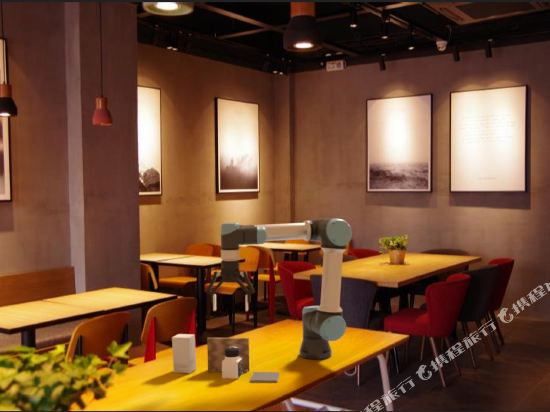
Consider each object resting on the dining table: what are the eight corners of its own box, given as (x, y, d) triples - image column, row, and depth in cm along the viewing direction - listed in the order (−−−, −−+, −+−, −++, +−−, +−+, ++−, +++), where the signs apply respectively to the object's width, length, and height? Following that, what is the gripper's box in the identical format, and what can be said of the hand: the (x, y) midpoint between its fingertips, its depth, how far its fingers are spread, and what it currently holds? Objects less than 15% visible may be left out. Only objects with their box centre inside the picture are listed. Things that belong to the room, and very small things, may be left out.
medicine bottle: (238, 379, 246) (237, 350, 246) (221, 378, 247) (221, 349, 247) (242, 373, 253) (242, 345, 253) (226, 373, 254) (226, 345, 254)
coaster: (279, 374, 252) (279, 372, 252) (277, 382, 241) (277, 380, 241) (253, 373, 253) (253, 371, 253) (250, 382, 242) (250, 380, 242)
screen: (250, 368, 261) (249, 336, 260) (248, 372, 255) (247, 340, 254) (209, 367, 262) (209, 336, 262) (206, 372, 256) (206, 339, 256)
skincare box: (196, 369, 260) (196, 334, 260) (189, 374, 254) (188, 337, 253) (179, 368, 263) (178, 333, 262) (172, 372, 256) (171, 336, 256)
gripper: (260, 258, 252) (261, 308, 252) (202, 258, 254) (203, 308, 254) (258, 260, 244) (259, 312, 245) (198, 260, 246) (199, 311, 247)
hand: (230, 310), depth 249 cm, fingers open, 13 cm apart
